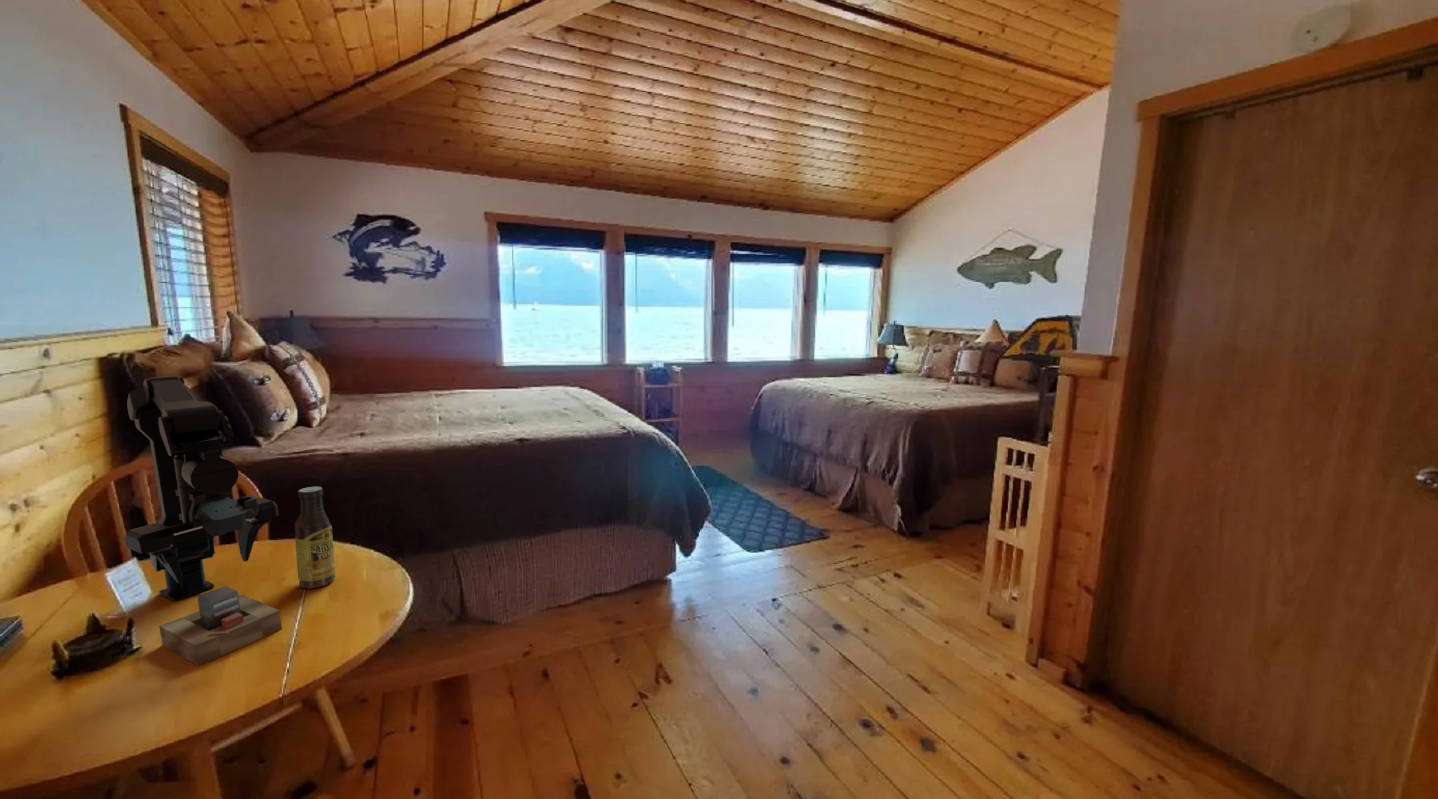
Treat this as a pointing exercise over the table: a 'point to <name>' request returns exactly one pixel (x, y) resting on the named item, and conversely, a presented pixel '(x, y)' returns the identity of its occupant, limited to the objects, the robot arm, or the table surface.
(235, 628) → the stand base
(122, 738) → the table surface
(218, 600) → the column
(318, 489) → the sauce bottle
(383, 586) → the table surface
